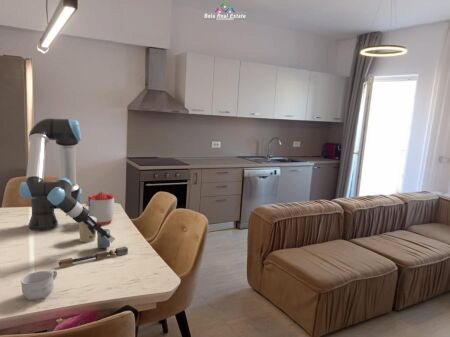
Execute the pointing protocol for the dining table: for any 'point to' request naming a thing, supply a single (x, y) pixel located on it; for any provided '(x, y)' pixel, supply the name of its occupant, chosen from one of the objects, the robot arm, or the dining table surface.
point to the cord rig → (94, 256)
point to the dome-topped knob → (102, 240)
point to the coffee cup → (87, 231)
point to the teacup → (38, 284)
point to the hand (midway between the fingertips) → (110, 238)
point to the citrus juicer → (101, 207)
